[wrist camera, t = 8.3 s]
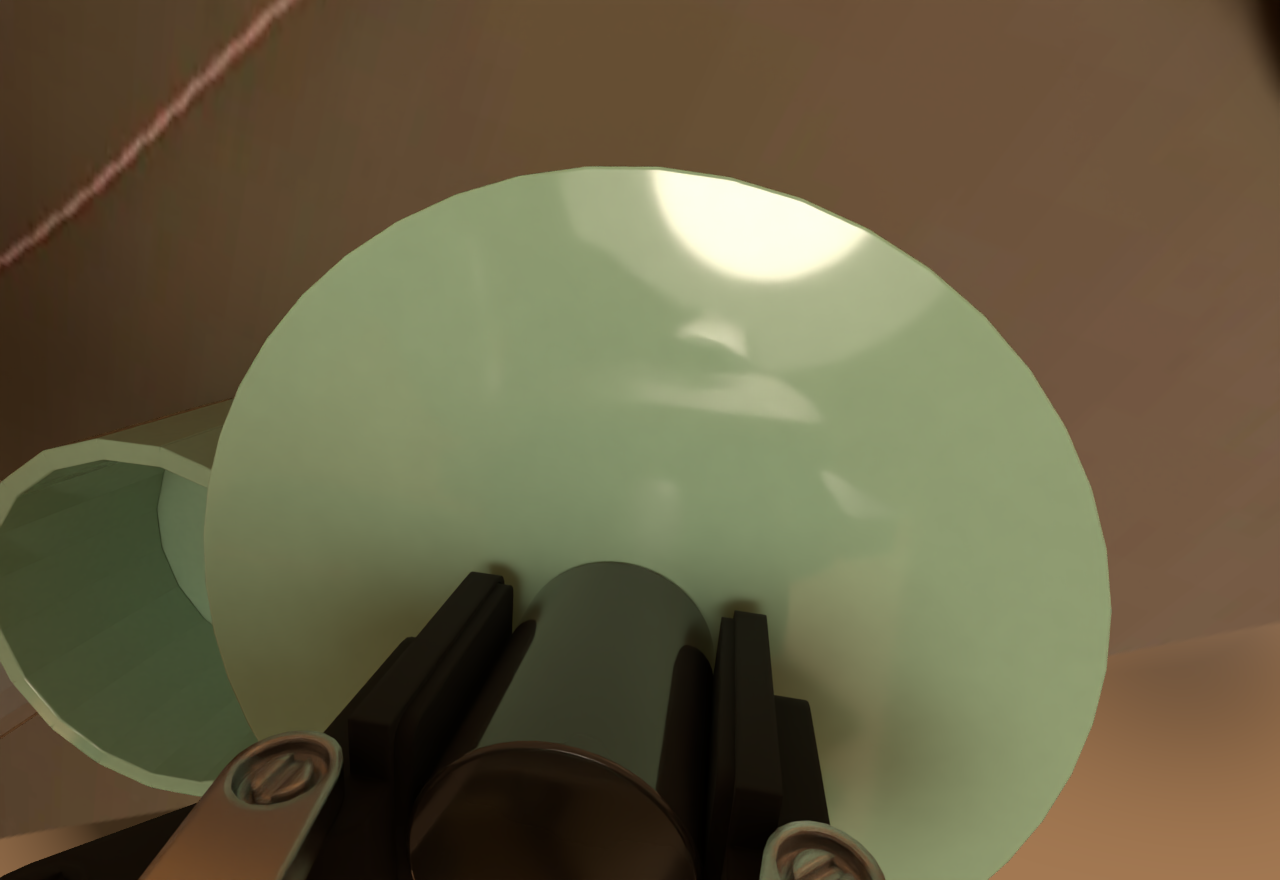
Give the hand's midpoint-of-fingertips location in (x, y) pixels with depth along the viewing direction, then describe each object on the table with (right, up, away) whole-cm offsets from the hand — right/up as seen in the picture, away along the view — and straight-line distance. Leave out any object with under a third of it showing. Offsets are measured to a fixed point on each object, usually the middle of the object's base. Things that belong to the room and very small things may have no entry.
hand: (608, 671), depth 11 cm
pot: (-17, -1, +22) cm, 28 cm away
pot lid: (0, 0, +1) cm, 1 cm away
